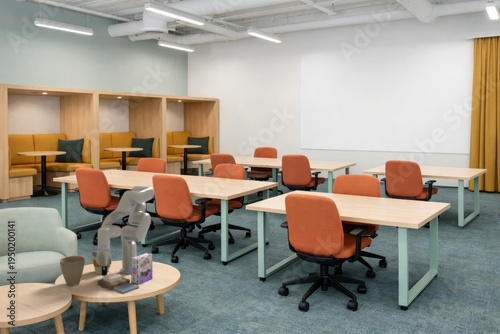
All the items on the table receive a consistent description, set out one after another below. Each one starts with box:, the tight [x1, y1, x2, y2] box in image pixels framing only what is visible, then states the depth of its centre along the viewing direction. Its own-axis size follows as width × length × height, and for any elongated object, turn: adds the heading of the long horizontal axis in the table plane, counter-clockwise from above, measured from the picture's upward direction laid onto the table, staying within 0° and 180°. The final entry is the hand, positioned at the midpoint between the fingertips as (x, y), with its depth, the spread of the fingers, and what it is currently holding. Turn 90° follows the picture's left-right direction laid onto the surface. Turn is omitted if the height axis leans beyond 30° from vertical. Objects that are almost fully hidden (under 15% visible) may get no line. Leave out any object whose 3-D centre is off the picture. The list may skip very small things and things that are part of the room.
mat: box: [112, 282, 140, 295], centre depth 280 cm, size 12×10×1 cm
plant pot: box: [59, 255, 86, 287], centre depth 286 cm, size 15×15×16 cm
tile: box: [102, 272, 123, 283], centre depth 287 cm, size 8×8×2 cm
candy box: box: [130, 252, 153, 285], centre depth 294 cm, size 14×6×16 cm, turn 149°
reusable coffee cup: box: [91, 247, 112, 275], centre depth 311 cm, size 13×13×15 cm
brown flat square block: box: [96, 276, 131, 291], centre depth 287 cm, size 14×14×3 cm
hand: (104, 275), depth 292 cm, fingers closed
